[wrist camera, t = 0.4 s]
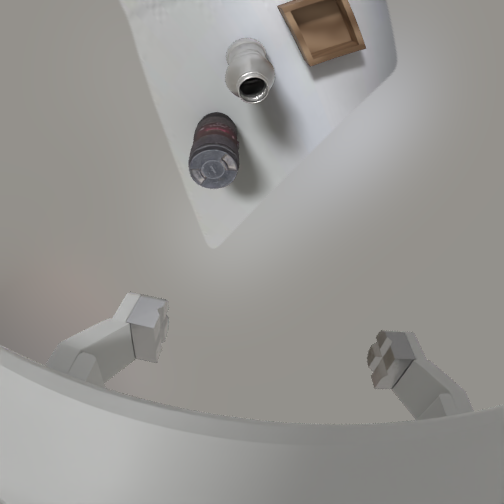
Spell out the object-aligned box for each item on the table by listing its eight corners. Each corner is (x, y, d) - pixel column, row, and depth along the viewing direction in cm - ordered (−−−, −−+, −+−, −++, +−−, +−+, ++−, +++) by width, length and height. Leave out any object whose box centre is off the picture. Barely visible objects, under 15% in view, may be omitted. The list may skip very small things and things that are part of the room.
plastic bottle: (272, 53, 44) (294, 91, 31) (243, 75, 47) (250, 124, 35) (247, 28, 40) (257, 53, 27) (217, 53, 43) (212, 90, 31)
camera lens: (222, 101, 51) (221, 140, 41) (244, 131, 56) (249, 176, 47) (187, 122, 54) (177, 165, 44) (210, 150, 59) (207, 197, 50)
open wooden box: (277, 6, 36) (281, 8, 34) (333, -12, 33) (342, -11, 30) (304, 59, 45) (310, 66, 42) (356, 42, 41) (366, 48, 39)
